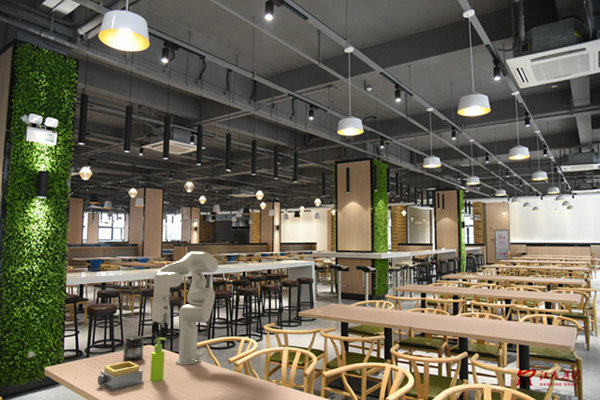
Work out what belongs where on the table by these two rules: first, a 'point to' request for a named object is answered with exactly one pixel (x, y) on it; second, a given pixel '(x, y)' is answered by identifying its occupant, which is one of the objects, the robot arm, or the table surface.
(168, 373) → the table surface
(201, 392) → the table surface
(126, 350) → the supplement container
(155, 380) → the soap dispenser
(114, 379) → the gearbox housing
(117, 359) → the table surface
